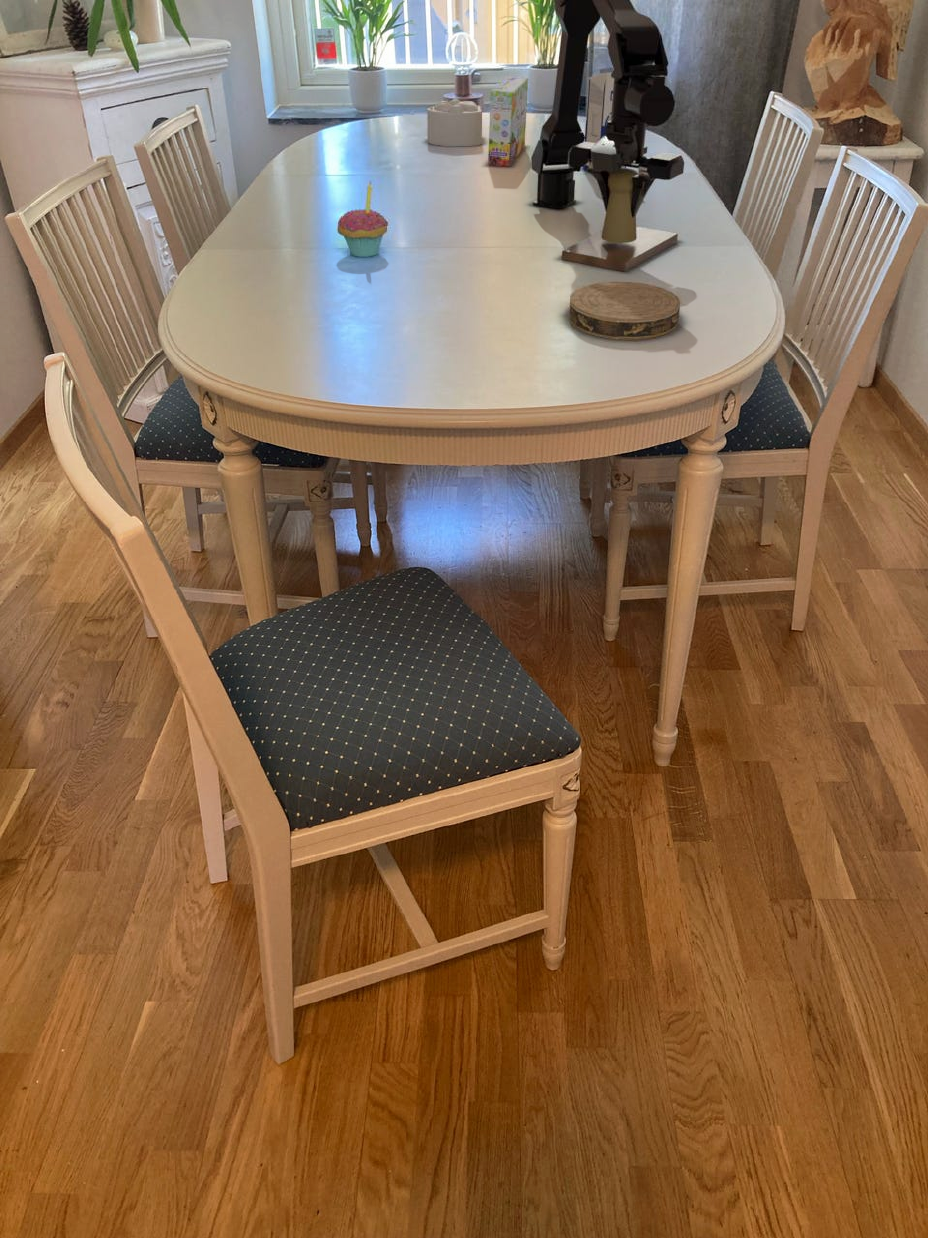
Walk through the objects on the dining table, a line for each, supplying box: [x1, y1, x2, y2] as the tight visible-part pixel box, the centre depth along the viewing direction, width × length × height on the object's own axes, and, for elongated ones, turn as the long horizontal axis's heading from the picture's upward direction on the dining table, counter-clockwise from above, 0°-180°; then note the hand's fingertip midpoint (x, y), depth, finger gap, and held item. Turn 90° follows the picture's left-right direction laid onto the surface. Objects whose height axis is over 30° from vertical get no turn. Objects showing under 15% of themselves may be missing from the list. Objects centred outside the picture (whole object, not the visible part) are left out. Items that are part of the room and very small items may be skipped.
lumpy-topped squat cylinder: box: [426, 98, 483, 147], centre depth 248 cm, size 10×13×9 cm
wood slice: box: [568, 281, 681, 341], centre depth 151 cm, size 16×16×3 cm
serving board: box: [561, 225, 679, 273], centre depth 179 cm, size 12×20×2 cm, turn 146°
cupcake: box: [336, 180, 389, 258], centre depth 175 cm, size 9×8×12 cm
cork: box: [601, 167, 639, 243], centre depth 174 cm, size 6×6×11 cm
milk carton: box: [582, 67, 627, 171], centre depth 221 cm, size 7×7×20 cm
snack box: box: [487, 76, 529, 167], centre depth 234 cm, size 21×6×15 cm, turn 168°
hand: (620, 214), depth 175 cm, fingers closed on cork, 4 cm apart
